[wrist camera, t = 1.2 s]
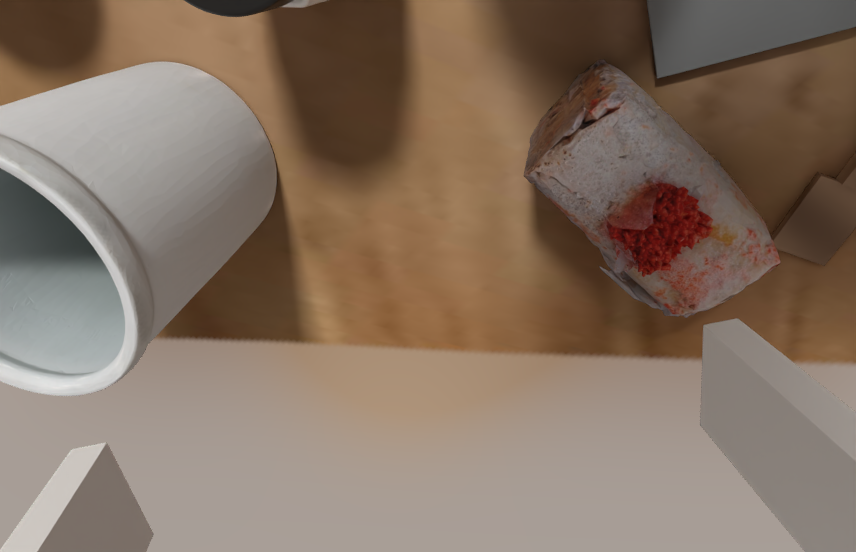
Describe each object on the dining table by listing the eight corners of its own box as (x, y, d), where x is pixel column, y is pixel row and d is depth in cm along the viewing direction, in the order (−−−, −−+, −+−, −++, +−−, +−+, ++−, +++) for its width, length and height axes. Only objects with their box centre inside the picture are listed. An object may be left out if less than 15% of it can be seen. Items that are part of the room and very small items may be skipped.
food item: (765, 197, 35) (825, 280, 27) (658, 276, 39) (682, 369, 31) (607, 42, 32) (619, 81, 24) (510, 144, 36) (493, 207, 28)
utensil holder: (329, 194, 41) (194, 341, 26) (200, 277, 48) (35, 431, 33) (185, 6, 36) (-76, 58, 22) (64, 127, 43) (-199, 231, 28)
